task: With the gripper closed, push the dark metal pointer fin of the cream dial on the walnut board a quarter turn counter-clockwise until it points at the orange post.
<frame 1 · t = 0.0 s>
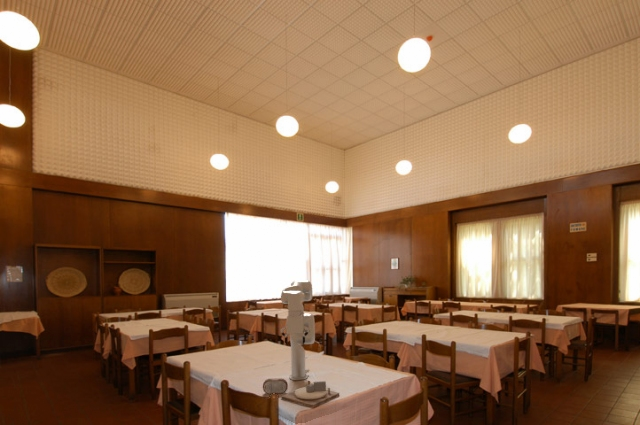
hand: (295, 344, 220), 31 cm above the table, tool pointing down, fingers open, 9 cm apart
tin: (275, 394, 229), on the table
dial: (310, 388, 222), point 5 cm above the table, hinge at 0.0°
dial board: (310, 397, 221), on the table
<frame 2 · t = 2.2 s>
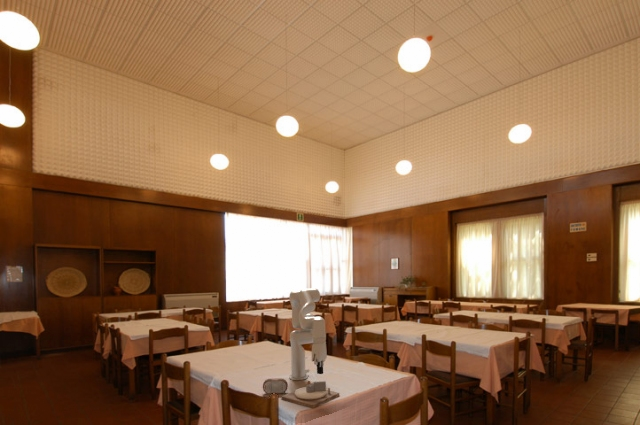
hand: (320, 373, 217), 15 cm above the table, tool pointing down, fingers closed
nothing on the table moved.
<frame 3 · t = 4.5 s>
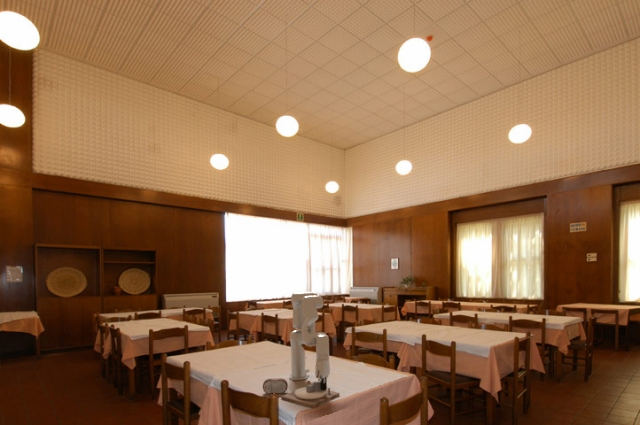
hand: (323, 389, 219), 5 cm above the table, tool pointing down, fingers closed
dial: (310, 388, 222), point 5 cm above the table, hinge at 0.1°, touching gripper
everything else where it was.
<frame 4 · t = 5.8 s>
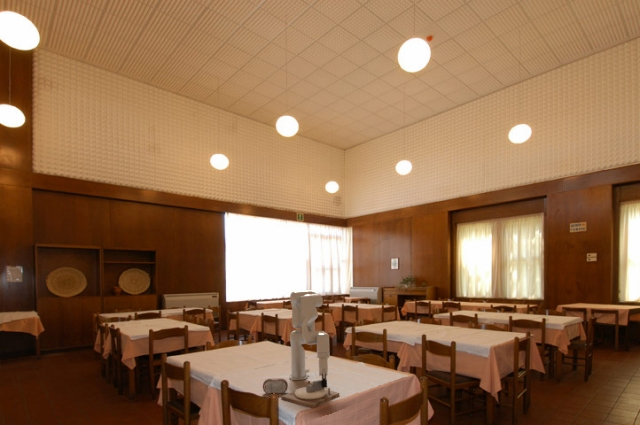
hand: (324, 387, 223), 5 cm above the table, tool pointing down, fingers closed
dial: (310, 388, 222), point 5 cm above the table, hinge at 23.3°, touching gripper
everything else where it was.
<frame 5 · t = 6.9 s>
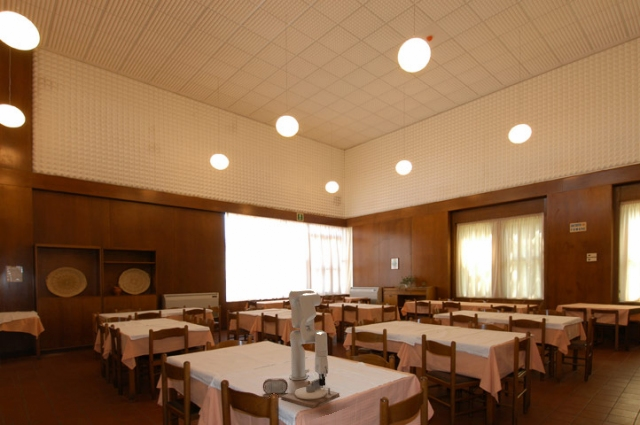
hand: (322, 385, 226), 5 cm above the table, tool pointing down, fingers closed
dial: (310, 388, 222), point 5 cm above the table, hinge at 46.9°, touching gripper
everything else where it was.
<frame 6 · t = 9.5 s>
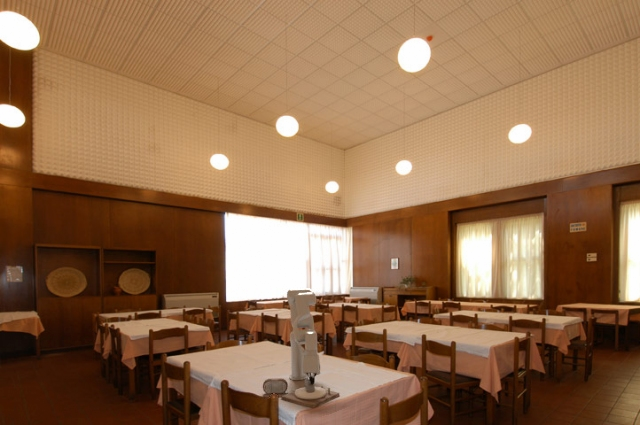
hand: (312, 384, 229), 5 cm above the table, tool pointing down, fingers closed
dial: (310, 388, 222), point 5 cm above the table, hinge at 102.3°, touching gripper
everything else where it was.
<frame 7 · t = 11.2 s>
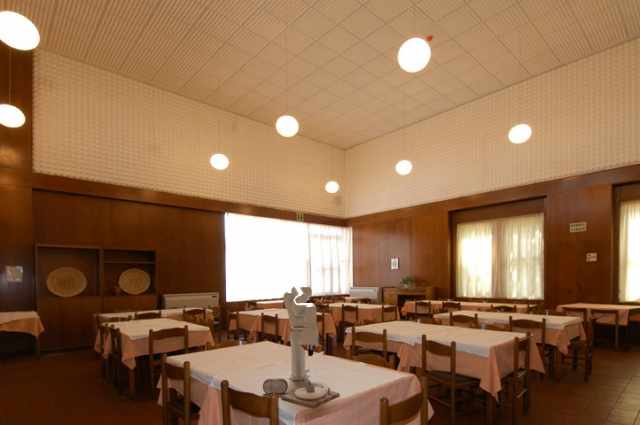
hand: (310, 355, 235), 21 cm above the table, tool pointing down, fingers closed
dial: (310, 388, 222), point 5 cm above the table, hinge at 102.3°
everything else where it was.
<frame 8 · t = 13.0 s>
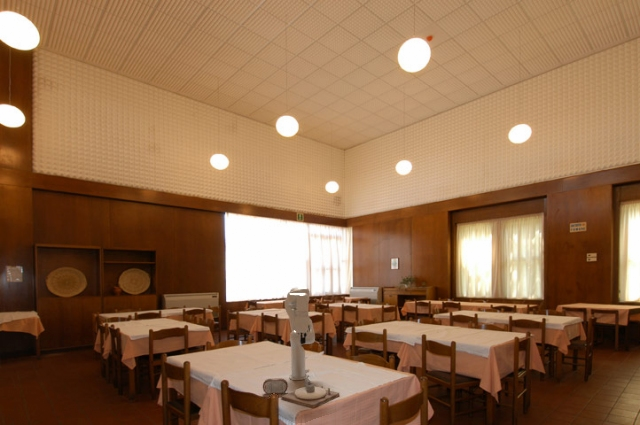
hand: (303, 343, 241), 27 cm above the table, tool pointing down, fingers closed
nothing on the table moved.
at the end: dial at +102° (first picture: +0°); tin moved 0.3 cm from its start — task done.
